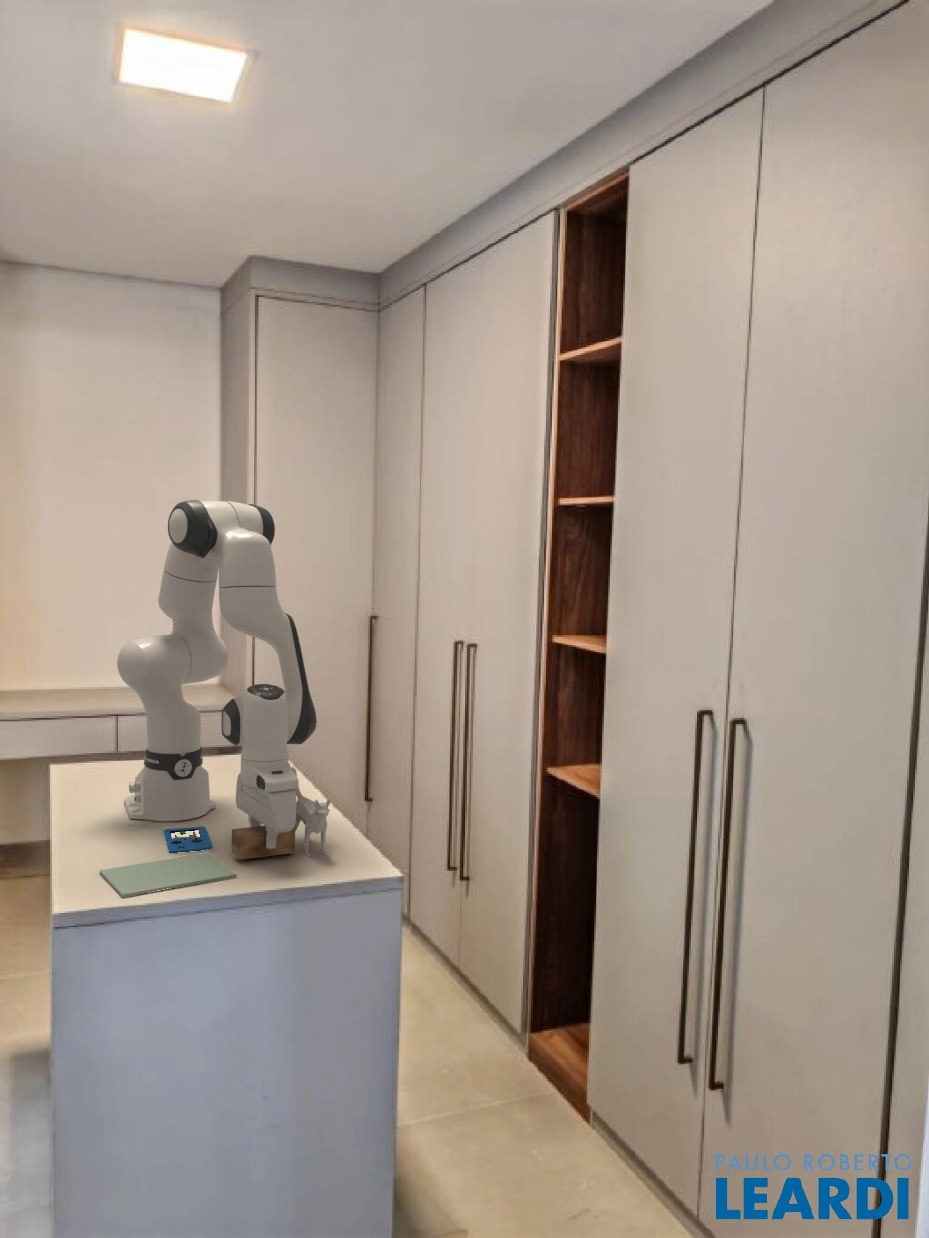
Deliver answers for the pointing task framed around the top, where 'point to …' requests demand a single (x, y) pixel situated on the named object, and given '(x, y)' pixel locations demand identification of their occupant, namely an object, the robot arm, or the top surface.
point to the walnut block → (259, 843)
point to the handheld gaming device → (187, 840)
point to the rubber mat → (166, 874)
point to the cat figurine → (311, 817)
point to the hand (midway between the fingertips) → (263, 843)
